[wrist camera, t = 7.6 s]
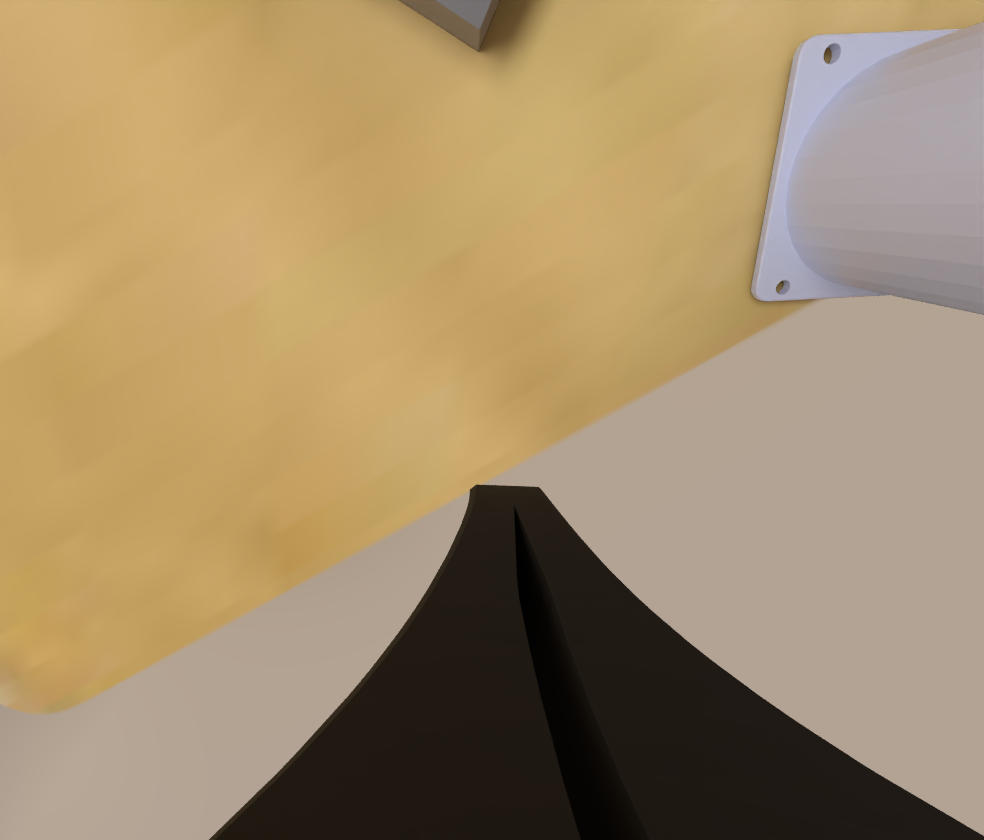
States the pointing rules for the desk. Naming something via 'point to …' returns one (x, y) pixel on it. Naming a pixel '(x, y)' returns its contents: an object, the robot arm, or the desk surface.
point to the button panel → (458, 17)
